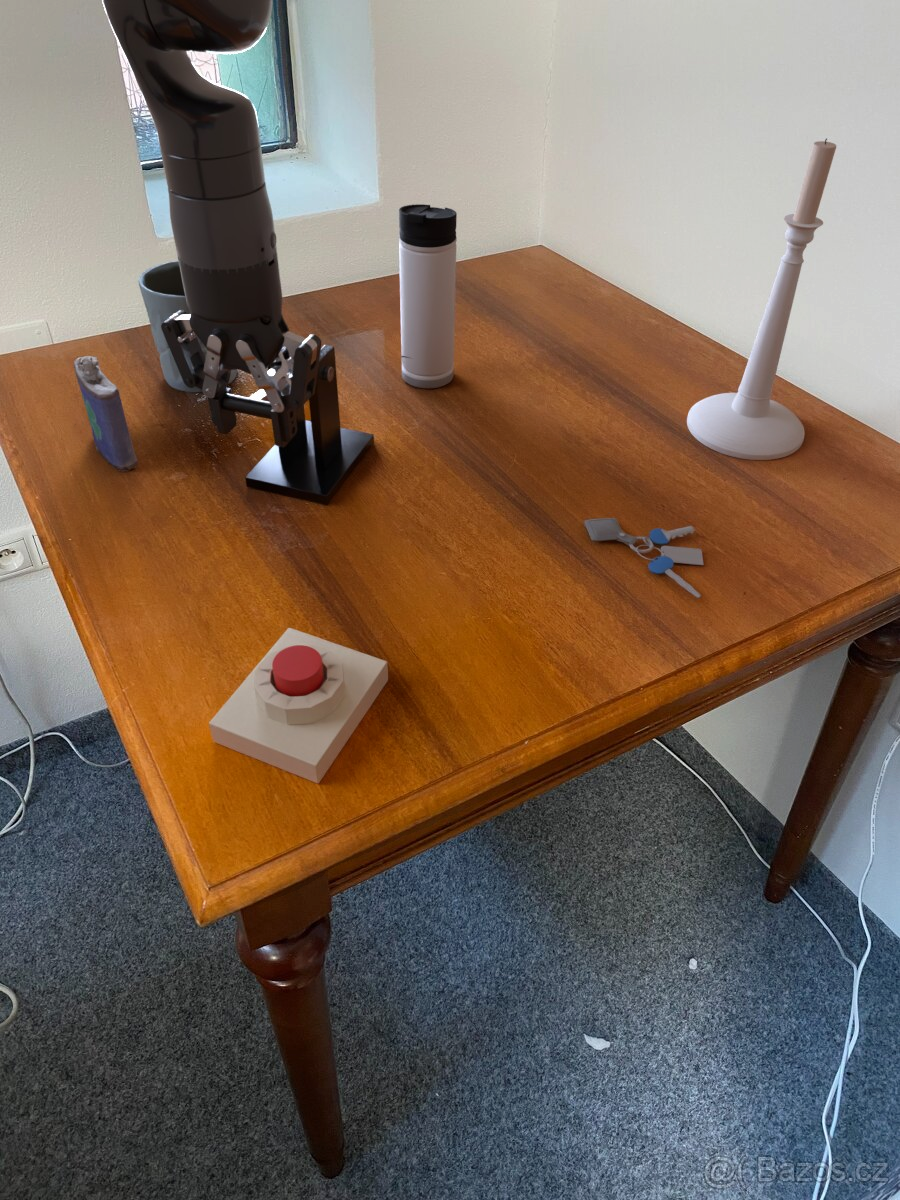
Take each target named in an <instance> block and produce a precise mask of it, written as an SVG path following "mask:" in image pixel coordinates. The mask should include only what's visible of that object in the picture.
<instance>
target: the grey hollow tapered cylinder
mask: <svg viewBox="0 0 900 1200" xmlns="http://www.w3.org/2000/svg"><path fill="white" fill-rule="evenodd" d="M137 282H138V287H139V291H140V293H141V296H142V297H141V298H142V300H143V304H144V307H145V309H146V313H147V317H148V321H149V325H150V331H151V335H152V338H153V339H154V341H153V342H154V345H155V349H156V351H157V353H158V354H159V363H160V367H161V370H162V373H163V377H164V380H165V381H166V384H167V385H168V386H170V387H171V388H172V389H175V390H178V391H181V392H186V393H203V391H202V390H201V389H199V388H197V387H194V388H189V387H187V386H186V385H185V384H184V382H183V380H182V377H181V375H180V372H179V370H178V367H177V365H176V363H175V360H174V358H173V355H172V353H171V351H170V348H169V346H168V343H167V341H166V339H165V336H164V334H163V331H162V329H161V324H162V323H163V322H164V321H166V320H167V319H168V318H170V317H171V316H172V315H174V314H175V313H176V312H178V311H179V310H182V311H184V312H186V313H187V314H188V315H191V311H190V309H189V308H188V305H187V302H186V297H185V292H184V287H183V282H182V276H181V271H180V266H179V261H178V260H175V261H168V262H164V263H159V264H157V265H153V266H152V267H149V268H148V269H146V270H144V271H143V272H142V273H141V274H140V275H139V277H138V280H137ZM197 339H198V341H199V344H200V347H201V349H202V352H203V354H204V357H205V359H206V354H207V348H206V347H205V346H204V344H203V343H202V342H201V340H200V339H199V338H198V337H197ZM190 362H191V359H190ZM191 364H192V362H191ZM192 367H193V364H192ZM193 368H194V367H193ZM237 375H238V369H237V370H231V374H230V379H229V383H228V385H230V383H232V382H233V381H234V380H235V379H236V377H237Z"/></svg>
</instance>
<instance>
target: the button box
mask: <svg viewBox="0 0 900 1200" xmlns="http://www.w3.org/2000/svg"><path fill="white" fill-rule="evenodd" d="M295 645H304V646H309V647H311V648H313V649H315V650H316V651H317V652H318V653H319V654H320V655H321V658H322V665H323V673H324V679H323V682H322V684H321V686H320V687H319V688H318V689H317V690H316V691H314V692H313V693H311V694H309V695H306V696H295V697H293V696H288V695H286V694H283V693H282V692H281V691H279V690H278V688H277V687H276V685H275V680H274V674H273V668H272V663H273V660H274V658H275V656H276V655H277V654H278V653H279V652H280V651H282V650H283V649H285V648H287V647H290V646H295ZM388 665H389V664H388V661H387V660H384V659H381V658H378V657H375V656H373V655H370V654H367V653H364V652H361V651H358V650H356V649H352V648H349V647H347V646H344V645H342V644H338V643H336V642H332V641H329V640H326V639H323V638H320V637H318V636H315V635H311V634H309V633H307V632H303V631H300V630H297V629H295V628H291V627H288V628H287V629H286V630H285V631H284V633H283V634H281V636H280V637H279V639H277V641H276V642H275V643H274V644H273V645H272V647H271V648H270V649H269V650H268V652H267V653H266V654H265V655H264V657H262V659H261V660H260V661H259V662H258V663H257V665H256V666H255V667H254V668H253V669H252V671H251V672H250V673H249V674H248V675H247V676H246V678H245V679H244V680H243V682H241V683H240V685H239V686H238V687H237V688H236V690H235V691H234V692H233V693H232V695H231V696H230V697H229V698H228V699H227V700H226V701H225V703H224V704H223V705H222V706H221V708H220V709H218V711H217V712H216V714H215V715H213V717H212V719H211V720H210V721H209V722H208V726H209V730H210V734H211V737H212V741H213V743H215V744H218V745H221V746H222V747H226V748H228V749H230V750H233V751H236V752H238V753H240V754H242V755H246V756H248V757H250V758H253V759H255V760H258V761H260V762H263V763H265V764H268V765H270V766H273V767H275V768H278V769H280V770H282V771H285V772H288V773H290V774H292V775H295V776H298V777H301V778H303V779H305V780H308V781H310V782H313V783H315V784H320V782H321V781H322V779H323V778H324V776H325V775H326V773H327V772H328V770H329V769H330V768H331V766H332V765H333V763H334V761H335V760H336V758H337V757H338V756H339V754H340V753H341V751H342V749H343V748H344V746H345V745H346V744H347V742H348V741H349V740H350V738H351V736H352V735H353V733H354V732H355V730H356V729H357V728H358V726H359V724H360V723H361V722H362V720H363V718H364V717H365V716H366V714H367V713H368V712H369V710H370V708H371V706H373V704H374V702H375V700H376V699H377V697H379V695H380V693H381V691H382V690H383V689H384V687H385V685H386V684H387V683H388V681H389V667H388Z"/></svg>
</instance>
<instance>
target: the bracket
mask: <svg viewBox="0 0 900 1200" xmlns="http://www.w3.org/2000/svg"><path fill="white" fill-rule="evenodd" d="M281 352H282V354H283V356H284V359H285V360H286V359H287V358H289V352H288V350H287V349H286V347H284V346H283V348H282V349H281ZM336 363H337V362H336V350H335V346H333V345H329V344H324V345H323V346H322V347H321V351H320V358H319V365H318V372H317V379H316V387H315V393H314V395H313V396H312V397H311V398H310V399H309V400H308V403H309V414H310V420H306V413H305V405H304V406H303V407H302V408H301V409H300V410H296V409H295V414H296V422H297V424H296V425H297V433H296V435H295V436H294V437H293V438H292V439H291V440H290V442H288V444H287V445H286V446H285V447H280V446H276V445H275V444H274V445H273V446H272V447H271V448H270V449H269V450H268V451H267V453H266V454H265V455H264V456H262V458H261V459H260V460H259V461H258V463H256V465H254V467H253V468H252V469H251V470H250V471H249V472H248V473H247V475H246V476H245V477H244V479H245V485H246V488H250V489H253V490H258V491H263V492H266V493H271V494H276V495H280V496H284V497H289V498H293V499H297V500H302V501H306V502H311V503H315V504H319V505H324V506H329V504H330V503H331V502H332V500H333V499H334V498H335V496H336V495H337V494H338V493H339V491H340V490H341V488H342V487H343V486H344V485H345V483H346V482H347V481H348V479H349V478H350V477H351V475H352V474H353V472H354V471H355V470H356V469H357V467H358V466H359V465H360V463H361V462H362V461H363V459H364V458H365V456H366V455H367V454H368V453H369V451H370V450H371V449H372V448H373V446H374V445H375V434H374V433H369V432H364V431H359V430H354V429H350V428H345V427H341V417H340V404H339V403H340V402H339V391H338V376H337V365H336ZM270 368H271V365H270V366H269V367H268V368H267V372H268V371H269V370H270Z"/></svg>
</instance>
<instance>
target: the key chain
mask: <svg viewBox="0 0 900 1200" xmlns="http://www.w3.org/2000/svg"><path fill="white" fill-rule="evenodd" d="M583 524H584V526H585V529H586V531H587V533H588V535H589V538H590V540H591V541H592V542H605V541H617V542H621V543H623V544H625V545H627V546H628V547H630V550H632V551H633V552H636V553H637V555H638V556H640V557H641V558H643V559H645V560H648V561H650V562H649V563H648V570H649V571H650V573H652V574H656V575H662V574H666V575H667V576H668V577H669V578H671V579H672V580H674V581H675V582H676V583H677V584H678V585H679V586H680V587H682V588H683V589H685V590H686V591H687V592H688V593H690V594H692V596H693V597H695V598H697V599H699V598H701V597H702V595H701V594H700V593H699V592H698V591H697V590H696V589H695V588H694V587H693V586H692V584H690V583H688V582H687V581H685V580H684V579H683V578H682V577H681V576H680V575H679V574H677V573H675V572H674V571H673V570H672V569H673V567H674V566H675V565H674V563H675V564H683V565H684V564H685V565H694V566H695V565H696V566H705V565H704V558H703V551H702V548H694V547H682V546H672V545H667V544H669V543H670V542H671V541H670V540H675V539H676V538H677V537H678V538H684V536H687V535H688V534H690V535H693V534H694V533H695V527H694V526H692V525H689V526H685V527H680V528H676V529H671V530H666V529H663V528H661V527H655V528H654V529H652V530H650V532H649V533H648V536H634V535H631V534H628V533H626V532H625V531H623V530H622V528H621V526H620V523H619V521H618V519H617V518H616V517H604V518H590V519H584V521H583ZM638 541H643V542H644V544H640V545H638V546H636V547H635V546H634V545H635V544H636V543H637V542H638ZM654 544H656V545H659V546H661V547H660V548H658V547H656V546H654ZM640 547H648V548H646V549H640ZM653 549H655V550H657V551H659V552H660V556H656V557H654V558H649V557H647V556H643V555H642V554H648V553H650V552H651V551H652V550H653Z"/></svg>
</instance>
